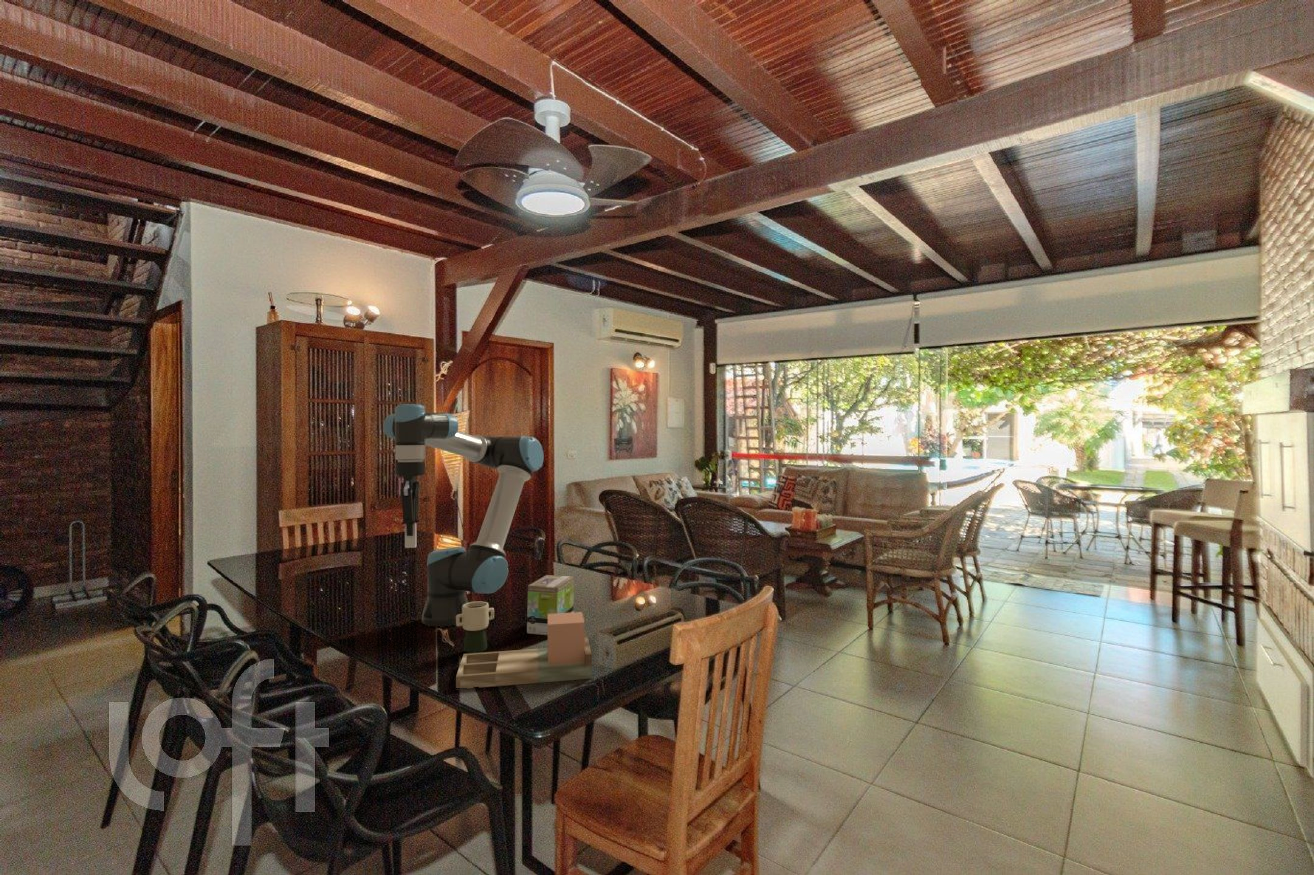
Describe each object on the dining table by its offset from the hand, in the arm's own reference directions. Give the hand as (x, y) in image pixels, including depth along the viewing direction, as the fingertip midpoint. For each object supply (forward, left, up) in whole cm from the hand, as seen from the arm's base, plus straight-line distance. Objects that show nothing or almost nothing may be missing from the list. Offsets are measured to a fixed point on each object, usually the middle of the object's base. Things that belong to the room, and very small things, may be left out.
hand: (410, 547), depth 165 cm
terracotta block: (+18, +41, -26) cm, 52 cm away
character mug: (+1, +17, -30) cm, 34 cm away
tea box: (-16, +38, -30) cm, 51 cm away
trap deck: (+19, +31, -29) cm, 47 cm away
